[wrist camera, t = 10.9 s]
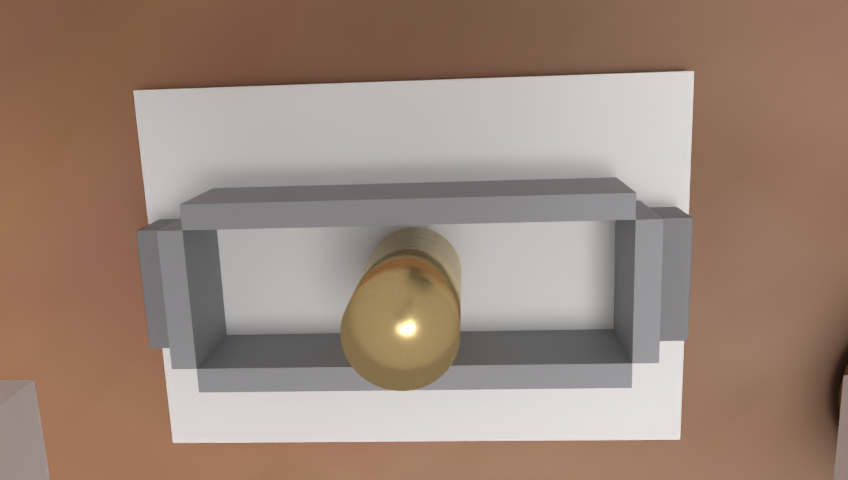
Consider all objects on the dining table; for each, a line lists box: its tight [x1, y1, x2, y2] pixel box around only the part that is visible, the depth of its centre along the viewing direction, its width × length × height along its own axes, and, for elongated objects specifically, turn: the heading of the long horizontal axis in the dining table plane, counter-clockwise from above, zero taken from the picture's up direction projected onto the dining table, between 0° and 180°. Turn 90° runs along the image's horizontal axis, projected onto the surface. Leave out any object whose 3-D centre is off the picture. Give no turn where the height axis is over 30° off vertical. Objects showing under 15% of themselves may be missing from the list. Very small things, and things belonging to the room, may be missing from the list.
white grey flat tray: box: [133, 71, 694, 443], centre depth 33 cm, size 16×23×5 cm
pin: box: [340, 227, 461, 391], centre depth 30 cm, size 4×4×8 cm
